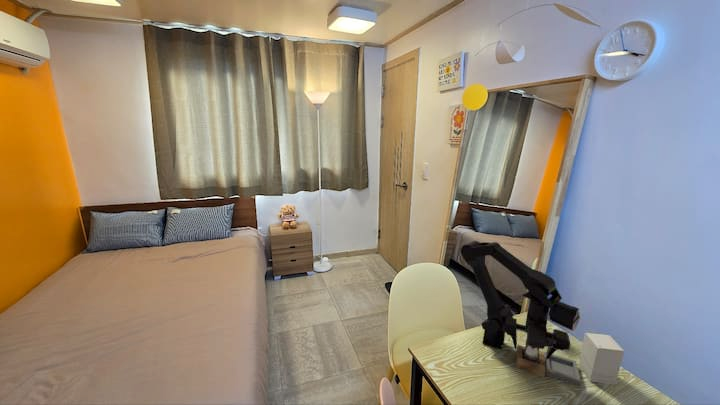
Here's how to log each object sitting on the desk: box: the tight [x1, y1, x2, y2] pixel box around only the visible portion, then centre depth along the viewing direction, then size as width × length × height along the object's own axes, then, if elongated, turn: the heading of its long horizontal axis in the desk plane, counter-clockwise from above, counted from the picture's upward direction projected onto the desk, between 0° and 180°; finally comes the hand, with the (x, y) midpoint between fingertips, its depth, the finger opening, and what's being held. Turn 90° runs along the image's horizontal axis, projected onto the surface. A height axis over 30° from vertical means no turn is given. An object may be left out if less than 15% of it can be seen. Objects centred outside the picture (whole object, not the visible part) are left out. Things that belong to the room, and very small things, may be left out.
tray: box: [543, 351, 581, 387], centre depth 96 cm, size 9×9×2 cm
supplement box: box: [578, 332, 625, 385], centre depth 93 cm, size 7×7×13 cm
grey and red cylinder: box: [522, 338, 540, 363], centre depth 97 cm, size 4×4×9 cm
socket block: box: [515, 344, 546, 377], centre depth 98 cm, size 8×8×3 cm
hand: (530, 353), depth 98 cm, fingers open, 9 cm apart
